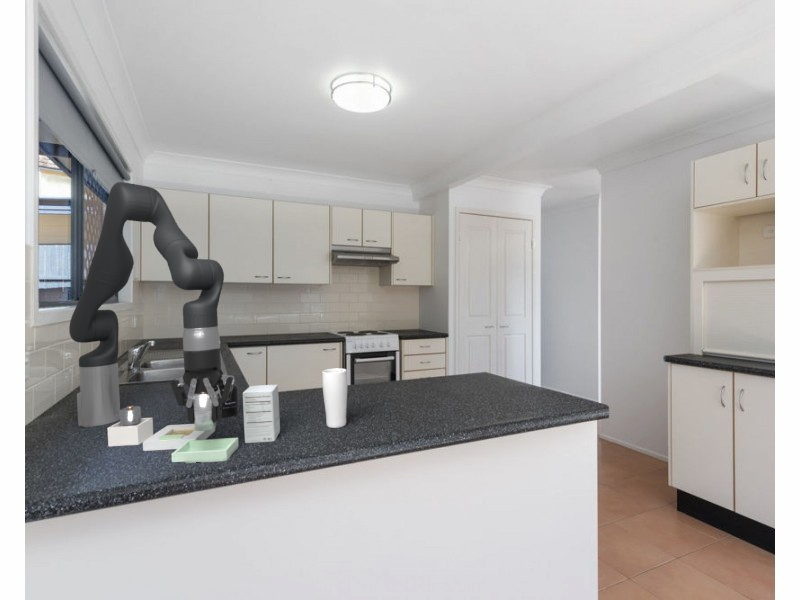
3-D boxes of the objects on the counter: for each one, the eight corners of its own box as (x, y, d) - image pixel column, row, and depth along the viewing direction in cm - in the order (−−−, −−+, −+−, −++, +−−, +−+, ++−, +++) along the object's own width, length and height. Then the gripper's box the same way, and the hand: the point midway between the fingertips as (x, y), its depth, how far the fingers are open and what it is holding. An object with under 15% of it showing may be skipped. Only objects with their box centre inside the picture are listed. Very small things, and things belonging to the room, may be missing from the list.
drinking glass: (328, 431, 107) (326, 374, 107) (320, 424, 113) (318, 370, 113) (352, 426, 110) (350, 371, 110) (344, 420, 116) (342, 367, 116)
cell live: (191, 431, 91) (189, 393, 91) (199, 425, 96) (197, 388, 95) (211, 430, 92) (209, 391, 91) (218, 424, 96) (217, 387, 96)
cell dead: (117, 444, 102) (115, 409, 102) (127, 437, 106) (126, 404, 106) (135, 442, 102) (134, 408, 102) (145, 436, 106) (143, 403, 106)
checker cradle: (143, 452, 97) (142, 439, 97) (168, 435, 109) (167, 423, 109) (196, 449, 98) (195, 436, 97) (215, 432, 110) (214, 420, 109)
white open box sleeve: (108, 448, 100) (107, 427, 100) (125, 438, 107) (124, 419, 107) (138, 446, 101) (137, 426, 101) (153, 436, 108) (152, 417, 108)
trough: (172, 464, 89) (171, 453, 89) (188, 450, 97) (187, 440, 97) (226, 460, 90) (226, 450, 90) (238, 447, 98) (238, 437, 98)
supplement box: (252, 433, 108) (250, 385, 108) (280, 431, 109) (279, 383, 108) (243, 443, 101) (241, 392, 100) (274, 441, 101) (272, 390, 101)
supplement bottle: (230, 419, 120) (228, 379, 120) (209, 419, 122) (207, 378, 121) (243, 412, 127) (242, 374, 127) (223, 412, 128) (222, 373, 128)
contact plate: (163, 443, 100) (163, 439, 100) (174, 434, 106) (174, 431, 106) (188, 441, 100) (187, 437, 100) (198, 433, 106) (197, 429, 106)
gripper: (160, 351, 89) (164, 429, 89) (228, 347, 90) (232, 425, 90) (177, 346, 97) (180, 419, 97) (239, 343, 98) (242, 415, 98)
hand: (205, 421), depth 94 cm, fingers closed on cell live, 4 cm apart
